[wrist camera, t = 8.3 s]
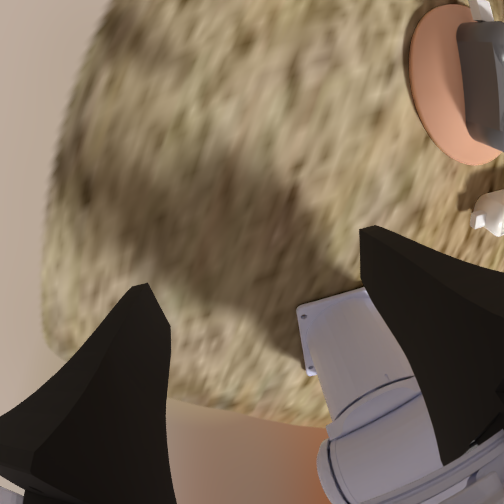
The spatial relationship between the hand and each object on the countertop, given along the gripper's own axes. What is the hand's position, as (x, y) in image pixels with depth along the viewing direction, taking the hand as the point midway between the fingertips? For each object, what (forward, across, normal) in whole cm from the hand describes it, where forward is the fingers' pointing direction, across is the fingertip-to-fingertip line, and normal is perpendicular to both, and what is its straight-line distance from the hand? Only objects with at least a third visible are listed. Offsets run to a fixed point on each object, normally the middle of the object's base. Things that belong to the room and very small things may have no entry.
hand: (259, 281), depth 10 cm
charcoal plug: (+9, -19, -5) cm, 22 cm away
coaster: (+9, -19, -5) cm, 22 cm away
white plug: (+10, -23, +6) cm, 26 cm away
